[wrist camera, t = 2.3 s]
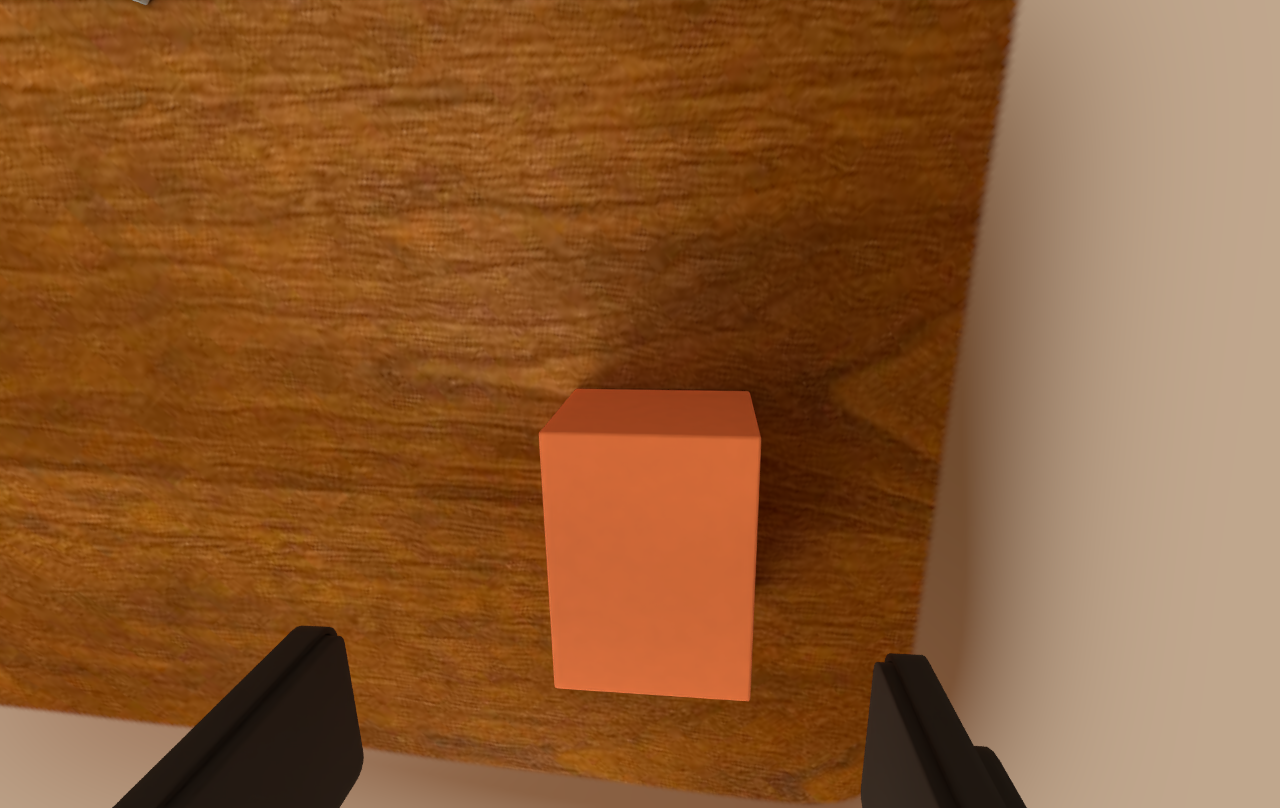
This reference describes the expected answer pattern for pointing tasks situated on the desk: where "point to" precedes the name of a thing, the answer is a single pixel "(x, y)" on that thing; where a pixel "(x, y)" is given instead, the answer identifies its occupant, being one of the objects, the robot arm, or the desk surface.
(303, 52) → the desk surface
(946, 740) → the robot arm
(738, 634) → the orange rectangular block
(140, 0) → the gray fixture board
